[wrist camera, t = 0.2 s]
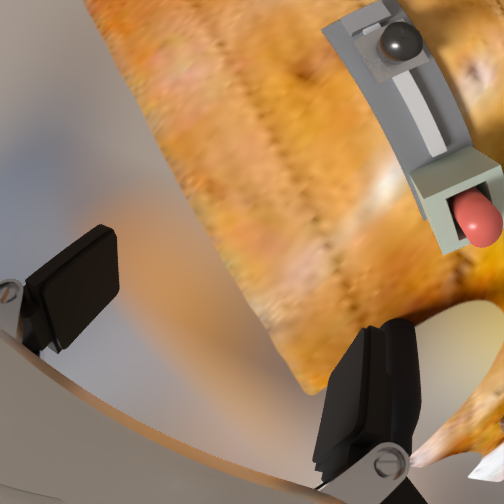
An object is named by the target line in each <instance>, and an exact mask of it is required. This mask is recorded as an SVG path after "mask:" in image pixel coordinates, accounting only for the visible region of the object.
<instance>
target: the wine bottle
mask: <svg viewBox="0 0 504 504" xmlns="http://www.w3.org/2000/svg"><path fill="white" fill-rule="evenodd" d="M380 329H382V330H385V333H386V371H389V372H391V374H392V423H391V441H390V443H395V444H397V445H399V446H400V447H402V448H403V449H404V450H405V452H406V453H407V455H408V458H409V457H410V456H411V454H412V435H413V433H414V430H415V427H416V425H417V422H418V419H419V414H420V410H421V384H420V370H419V360H418V352H417V351H418V350H417V341H416V333H415V328H414V325H413V324H412V323H411V322H409V321H408V320H405V319H393V320H389V321H388V322H386V323H384V324H383V325H382V326H381V327H380ZM409 460H410V458H409Z"/></svg>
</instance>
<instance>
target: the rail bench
mask: <svg viewBox="0 0 504 504" xmlns="http://www.w3.org/2000/svg"><path fill="white" fill-rule="evenodd" d="M400 19H404V21H405V22H406V23H408V24H410V25H412V26H414V25H413V23H412V22H411V20H410V19H409V17H408V16H407V14H406V13H405V12H404V10H403V9H402V7H401V6H400V4H399V3H398V2H397V0H382V1H381V0H379V1H377V2H375V3H372V4H370V5H368V6H365V7H363V8H361V9H359V10H357V11H355V12H352V13H350V14H348V15H346V16H344V17H342V18H341V19H340V20H338V21H336V22H334V23H332V24H330V25H328V26H327V27H325V28H323V29H321V31H322V33H323V34H324V35H325V37H326V38H327V39H328V41H329V42H330V44H331V45H332V47H333V48H334V49H335V51H336V52H337V54H338V55H339V57H340V58H341V60H342V61H343V63H344V64H345V66H346V67H347V69H348V71H349V72H350V74H351V75H352V77H353V79H354V80H355V82H356V83H357V85H358V87H359V88H360V90H361V92H362V93H363V95H364V97H365V98H366V100H367V102H368V104H369V105H370V107H371V109H372V111H373V113H374V114H375V116H376V118H377V120H378V122H379V124H380V125H381V127H382V129H383V131H384V133H385V135H386V137H387V139H388V141H389V143H390V145H391V147H392V149H393V151H394V153H395V155H396V157H397V159H398V161H399V164H400V166H401V168H402V170H403V172H404V174H405V177H406V179H407V181H408V184H409V186H410V188H411V191H412V193H413V195H414V198H415V200H416V203H417V205H418V208H419V210H420V213H421V215H422V218H423V220H426V219H427V220H428V222H429V224H430V226H431V228H432V230H433V233H434V235H435V237H436V239H437V242H438V244H439V246H440V248H441V251H442V253H443V255H445V254H447V253H450V252H452V251H454V250H457V249H459V248H462V247H464V246H466V245H468V244H471V243H470V241H469V240H468V238H467V237H466V235H465V233H464V232H463V230H462V228H461V227H460V225H459V224H458V222H457V221H456V219H455V217H454V216H453V214H452V213H451V211H450V208H449V198H450V197H451V196H453V195H455V194H457V193H460V192H462V191H464V190H466V189H469V188H471V187H473V186H475V187H476V188H477V189H478V190H479V191H480V192H481V193H482V194H483V195H484V196H485V197H486V198H487V199H488V200H489V201H490V202H491V203H492V204H493V205H494V206H495V207H496V208H497V209H498V211H499V212H500V213H501V215H502V218H503V229H504V175H503V171H502V168H501V165H500V164H499V163H497V162H496V161H494V160H493V159H491V158H489V157H488V156H486V155H485V154H483V153H482V152H480V151H478V150H477V149H475V147H474V144H473V142H472V139H471V136H470V134H469V131H468V129H467V126H466V124H465V121H464V119H463V117H462V114H461V112H460V110H459V107H458V105H457V103H456V101H455V99H454V97H453V94H452V92H451V90H450V88H449V86H448V84H447V82H446V80H445V78H444V76H443V74H442V72H441V70H440V69H439V67H438V65H437V63H436V61H435V59H434V58H433V56H432V54H431V52H430V51H429V49H428V47H427V46H426V44H425V42H424V41H423V48H422V49H423V51H424V53H425V54H426V56H427V58H428V59H429V62H426V63H424V64H422V65H419V66H417V67H415V68H412V69H410V70H408V71H406V72H403V73H401V74H399V75H397V76H395V77H392V78H390V79H388V80H386V81H384V82H382V83H377V82H376V80H375V78H374V77H373V75H372V73H371V72H370V70H369V68H368V67H367V65H366V64H365V62H364V61H363V59H362V57H361V56H360V54H359V53H358V51H357V50H356V48H355V47H354V45H353V40H356V39H358V38H360V37H362V36H364V35H366V34H368V33H370V32H373V31H375V30H377V29H379V28H381V27H384V26H386V25H388V24H391V23H393V22H395V21H398V20H400ZM414 27H415V26H414ZM422 40H423V39H422Z"/></svg>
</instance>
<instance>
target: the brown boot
mask: <svg viewBox="0 0 504 504" xmlns="http://www.w3.org/2000/svg"><path fill="white" fill-rule="evenodd" d="M499 426H500V428H501V430H502V432H503V434H504V418H503V419H502V420H501V421H500V422H499Z"/></svg>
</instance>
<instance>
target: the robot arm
mask: <svg viewBox="0 0 504 504" xmlns="http://www.w3.org/2000/svg"><path fill="white" fill-rule="evenodd" d="M25 282H26V285H25V286H23V285H22V283H21V282H20V281H18V280H16V279H6V280H3V281H1V282H0V504H428V503H427V502H426V501H425V499H424V498H423V497H422V495H421V494H420V493H419V492H418V490H417V489H416V488H415V487H414V485H413V484H412V483H411V481H410V480H409V479H408V477H407V474H408V472H409V468H410V461H409V458H408V455H407V453H406V452H405V450H404V449H403V448H402V447H400V446H399V445H397V444H395V443H390V441H391V423H392V374H391V372H389V371H386V333H385V330H382V329H379V328H376V327H373V326H368V327H367V329H366V328H362V329H361V330H360V332H359V333H358V335H357V336H356V338H355V339H354V341H353V342H352V344H351V345H350V347H349V348H348V350H347V351H346V353H345V354H344V356H343V357H342V359H341V360H340V362H339V363H338V364H337V366H336V367H335V369H334V370H333V372H332V373H331V375H330V378H329V381H328V387H327V393H326V398H325V403H324V408H323V413H322V418H321V423H320V428H319V433H318V437H317V441H316V446H315V450H314V454H313V462H314V463H316V467H315V471H319V472H323V474H322V478H321V479H322V481H323V482H322V483H320V484H319V485H318V486H316V487H315V488H313V489H312V488H309V487H306V486H302V485H299V484H296V483H293V482H290V481H286V480H283V479H279V478H276V477H273V476H269V475H266V474H263V473H260V472H257V471H254V470H251V469H248V468H245V467H243V466H240V465H237V464H234V463H231V462H229V461H226V460H223V459H221V458H218V457H216V456H213V455H210V454H208V453H205V452H203V451H201V450H198V449H196V448H194V447H191V446H188V445H187V444H184V443H182V442H180V441H178V440H176V439H173V438H171V437H169V436H167V435H165V434H163V433H161V432H159V431H157V430H155V429H153V428H151V427H149V426H146V425H145V424H143V423H141V422H139V421H137V420H135V419H134V418H132V417H130V416H128V415H126V414H124V413H123V412H121V411H119V410H118V409H116V408H114V407H112V406H111V405H109V404H107V403H106V402H104V401H102V400H101V399H99V398H97V397H96V396H94V395H92V394H91V393H90V392H88V391H86V390H85V389H83V388H82V387H80V386H79V385H77V384H76V383H74V382H73V381H71V380H70V379H68V378H67V377H65V376H64V375H62V374H61V373H60V372H58V371H57V370H56V369H54V368H53V367H51V366H50V365H48V364H47V363H46V362H44V349H45V348H46V347H47V346H48V347H49V348H50V349H51V350H53V351H54V352H56V353H57V354H59V352H60V351H61V350H62V349H66V348H67V347H69V345H70V344H71V343H72V342H73V341H74V340H75V339H76V338H77V337H78V336H79V334H80V333H81V332H82V331H83V330H84V329H85V328H86V327H87V326H88V325H89V324H90V323H91V321H92V320H93V319H94V318H95V317H96V316H97V315H98V314H99V313H100V312H101V311H102V310H103V309H104V308H105V307H106V306H107V305H108V304H109V303H110V302H111V300H113V298H114V297H115V296H116V295H117V294H118V292H119V287H120V286H119V272H118V253H117V236H116V234H115V232H114V230H113V229H112V228H109V227H107V226H104V225H102V224H99V225H97V226H96V227H95V228H93V229H92V230H90V231H89V232H87V233H86V234H85V235H83V236H82V237H80V238H79V239H78V240H76V241H75V242H74V243H72V244H71V245H70V246H68V247H67V248H65V249H64V250H63V251H61V252H60V253H59V254H58V255H56V256H55V257H53V258H52V259H51V260H50V261H48V262H47V263H46V264H44V265H43V266H42V267H41V268H39V269H38V270H37V271H36V272H34V273H33V274H32V275H31V276H29V277H28V278H27V279H26V280H25Z"/></svg>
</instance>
